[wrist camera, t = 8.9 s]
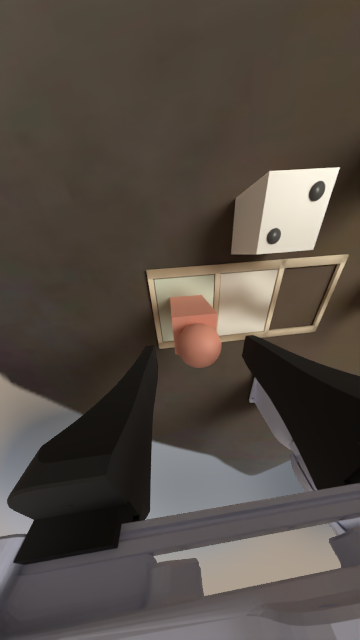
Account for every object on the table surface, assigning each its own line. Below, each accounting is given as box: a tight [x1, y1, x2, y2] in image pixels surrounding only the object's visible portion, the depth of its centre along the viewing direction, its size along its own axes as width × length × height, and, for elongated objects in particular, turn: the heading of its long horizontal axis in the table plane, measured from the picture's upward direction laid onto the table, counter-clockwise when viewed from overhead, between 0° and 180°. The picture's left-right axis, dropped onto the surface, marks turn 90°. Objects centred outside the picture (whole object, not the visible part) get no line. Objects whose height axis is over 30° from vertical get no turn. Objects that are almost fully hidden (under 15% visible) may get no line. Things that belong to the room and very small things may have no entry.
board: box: [146, 254, 349, 349], centre depth 18 cm, size 11×25×1 cm, turn 94°
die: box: [231, 167, 340, 254], centre depth 12 cm, size 5×5×5 cm
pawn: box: [170, 295, 221, 368], centre depth 14 cm, size 4×4×9 cm
